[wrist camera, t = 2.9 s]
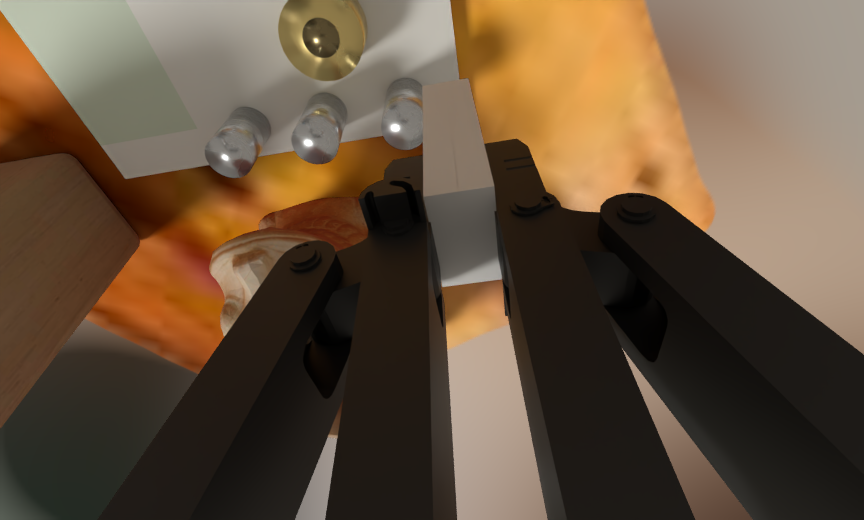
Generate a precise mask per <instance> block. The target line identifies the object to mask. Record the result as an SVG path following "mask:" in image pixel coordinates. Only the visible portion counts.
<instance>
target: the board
mask: <svg viewBox="0 0 864 520" xmlns="http://www.w3.org/2000/svg"><path fill="white" fill-rule="evenodd" d="M287 1H288V0H0V10H1V12H2V13H3V14H4V16H5V17H6V18H7V20H8V21H9V23H10V24H11V25H12V27H13V28H14V29H15V31H16V32H17V33H18V35H19V36H20V37H21V39H22V40H23V41H24V43H25V44H26V45H27V47H28V48H29V50H30V51H31V52H32V54H33V55H34V56H35V58H36V59H37V60H38V62H39V63H40V64H41V66H42V67H43V68H44V70H45V71H46V72H47V74H48V75H49V77H50V78H51V79H52V81H53V82H54V83H55V85H56V86H57V87H58V89H59V90H60V91H61V93H62V94H63V95H64V97H65V98H66V99H67V101H68V102H69V104H70V105H71V106H72V108H73V109H74V110H75V112H76V113H77V114H78V116H79V117H80V118H81V120H82V121H83V122H84V124H85V125H86V126H87V128H88V129H89V131H90V132H91V133H92V135H93V136H94V137H95V139H96V140H97V141H98V143H99V144H100V145H101V147H102V148H103V149H104V151H105V152H106V153H107V155H108V156H109V158H110V159H111V160H112V162H113V163H114V164H115V166H116V167H117V168H118V170H119V171H120V172H121V174H122V175H123V176H124V178H125V179H129V178H135V177H141V176H147V175H153V174H159V173H165V172H171V171H177V170H183V169H189V168H195V167H200V166H206V165H209V163H208V162H207V160H206V157H205V147H206V145H207V143H208V142H209V141H210V139H211V138H212V137H213V136H214V134H215V133H216V132H217V131H218V129H219V128H220V127H221V126H222V124H223V123H224V122H225V121H226V119H227V118H228V117H229V116H230V114H231V113H232V112H233V111H234V110H235V109H237V108H239V107H252V108H254V109H257V110H258V111H260V112H261V113H262V114H264V115H265V117H266V118H267V119H268V121H269V123H270V126H271V135H270V137H269V139H268V141H267V142H266V144H265V146H264V147H263V149H262V151H261V153H260V154H259V156H258V157H260V156H266V155H272V154H278V153H284V152H289V151H295V150H294V149H293V146H292V142H291V137H292V133H293V131H294V129H295V127H296V125H297V123H298V121H299V119H300V117H301V115H302V113H303V111H304V109H305V107H306V105H307V103H308V101H309V99H310V98H311V97H312V96H313V95H315V94H317V93H321V92H327V93H331V94H334V95H335V96H337V97H338V98H340V99H341V100H342V102H343V103H344V104H345V106H346V109H347V121H346V124H345V128H344V131H343V134H342V138H341V141H340V143H343V142H349V141H355V140H361V139H367V138H373V137H378V136H383V134H382V131H381V123H382V116H383V110H384V103H385V97H386V92H387V89H388V87H389V86H390V84H391V83H392V82H394V81H395V80H397V79H399V78H412V79H414V80H416V81H418V82H419V83H420V84H421V85H422V86H426V85H432V84H437V83H443V82H449V81H454V80H460V79H459V71H458V62H457V54H456V46H455V37H454V29H453V21H452V12H451V4H450V0H358V2H359V3H360V5H361V7H362V9H363V11H364V14H365V17H366V21H367V27H368V33H367V40H366V44H365V47H364V50H363V53H362V55H361V58H360V61H359V63H358V64H357V66H356V67H355V69H354V70H353V71H352V72H351V73H350V74H348V75H347V76H345V77H344V78H342V79H339V80H335V81H320V80H316V79H313V78H310V77H308V76H306V75H305V74H303V73H301V72H300V71H299V70H298V69H296V68H295V67H294V66H293V65H292V63H291V62H290V61H289V60H288V58H287V56H286V55H285V53H284V51H283V49H282V46H281V43H280V40H279V34H278V23H279V17H280V14H281V11H282V9H283V7H284V5H285V4H286V3H287Z"/></svg>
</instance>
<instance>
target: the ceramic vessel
mask: <svg viewBox="0 0 864 520" xmlns="http://www.w3.org/2000/svg"><path fill="white" fill-rule="evenodd" d="M358 198H359V197H336V198H325V199H319V200H314V201H309V202H306V203H302V204H299V205H295V206H292V207H289V208H286V209H283V210H280V211H277V212H273V213H270V214H268V215H266V216H265V217H264V218H263V219H262V220H261V221H260V223H259V230H257V231H253V232H249V233H245V234H243V235H240V236H238V237H236V238H234V239H232V240H229V241H227V242H225V243H224V244H222V245H221V246H219V247H218V248H217V249H216V250H215V251H213V255H212V259H211V263H210V266H209V271H210V273H211V274H212V276H213V277H214V278H215V279H216V280H217V282H218V283H219V284H220V286H221V288H222V290H223V293H224V296H225V304H224V306H223V309H222V312H221V315H220V320H221V321H220V323H221V329H222V331H223V334H224V336H226V334H227V333H228V331H229V330H230V328H231V327H232V325H233V324H234V323H235V321H236V320H237V318H238V317H239V315H240V314H241V312H242V311H243V310H244V308H245V307H246V305H247V304H248V302H249V301H250V300H251V298H252V297H253V295H254V294H255V292H256V291H257V289H258V288H259V287H260V285H261V284H262V282H263V281H264V279H265V278H266V277H267V275H268V274H269V272H270V271H271V269H272V268H273V266H274V265H275V264H276V262H277V261H278V259H279V258H280V257H281V256H282V255H283V254H284V253H285V252H286V251H288V250H289V249H291V248H292V247H294V246H296V245H298V244H301V243H304V242H307V241H315V240H320V241H326V242H328V243H330V244H331V245H333V246H334V248H335V251H336V252H337V251H339V250H342V249H345V248H347V247H350V246H353V245H355V244H357V243H359V242H361V241H363V240H364V239H366V238H367V235H368V228H367V225H366V222H365V219H364V216H363V213H362V210H361V207H360V204H359V201H358ZM342 404H343V400H342V402H341V405H340V407H339V410H338V412H337V415H336V417H335V420H334V422H333V425H332V427H331V430H330V432H329V435H328V437H329V438H337V437H338V431H339V424H340V417H341V410H342Z"/></svg>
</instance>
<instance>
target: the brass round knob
mask: <svg viewBox="0 0 864 520" xmlns="http://www.w3.org/2000/svg"><path fill="white" fill-rule="evenodd" d="M367 33H368V27H367V21H366V17H365V14H364V11H363V9H362V7H361V5H360V3H359V2H358V0H288V1H287V3H286V4H285V5H284V7H283V9H282V11H281V14H280V17H279V23H278V34H279V40H280V43H281V46H282V49H283V51H284V53H285V55H286V56H287V58H288V60H289V61H290V62H291V63H292V65H293V66H294V67H295V68H296V69H298V70H299V71H300V72H301V73H303V74H305V75H306V76H308V77H310V78H313V79H316V80H320V81H335V80H339V79H342V78H344V77H345V76H347V75H348V74H350V73H351V72H352V71H353V70H354V69H355V67H356V66H357V64H358V63H359V61H360V58H361V55H362V53H363V50H364V47H365V44H366V40H367Z"/></svg>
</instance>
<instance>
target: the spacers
mask: <svg viewBox="0 0 864 520" xmlns="http://www.w3.org/2000/svg"><path fill="white" fill-rule="evenodd" d="M346 121H347V109H346V106H345V104H344V103H343V102H342V100H341V99H340V98H338V97H337V96H335V95H334V94H331V93H327V92H321V93H317V94H315V95H313V96H312V97H311V98H310V99H309V101H308V103H307V105H306V107H305V109H304V111H303V113H302V115H301V117H300V119H299V121H298V123H297V125H296V127H295V129H294V131H293V133H292V137H291V142H292V146H293V149H294V150H295V152H296V153H297V155H298V156H299V157H301V158H302V159H303V160H305V161H307V162H309V163H313V164H324V163H327V162H329V161H331V160H332V159H333V158H334V157H335V156H336V154H337V151H338V148H339V144H340V141H341V138H342V134H343V131H344V128H345V124H346ZM381 131H382V134H383V137H384V139H385V140H386V141H387V142H388V143H389V144H390V145H391V146H393V147H395V148H397V149H401V150H410V149H413V148H416V147H418V146H419V145H420V144H421V143H422V142H423V86H422V85H421V84H420V83H419V82H418V81H416V80H414V79H412V78H399V79H397V80H395V81H394V82H392V83H391V84H390V86H389V87H388V89H387V92H386V97H385V103H384V110H383V116H382V123H381ZM270 135H271V126H270V123H269V121H268V119H267V118H266V117H265V115H264V114H262V113H261V112H260V111H258V110H257V109H254V108H252V107H239V108H237V109H235V110H234V111H233V112H232V113H231V114H230V116H229V117H228V118H227V119H226V121H225V122H224V123H223V124H222V126H221V127H220V128H219V129H218V131H217V132H216V133H215V134H214V136H213V137H212V138H211V139H210V141H209V142H208V143H207V145H206V147H205V157H206V160H207V162H208V163H209V165H210V166H211V167H212V168H213V169H214V170H215V171H216V172H218V173H220V174H221V175H224V176H226V177H230V178H240V177H243V176H245V175H247V174H248V173H249V172H250V170H251V168H252V166H253V165H254V163H255V161H256V160H257V158H258V156H259V154H260V153H261V151H262V149H263V147H264V146H265V144H266V142H267V141H268V139H269V137H270Z"/></svg>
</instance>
